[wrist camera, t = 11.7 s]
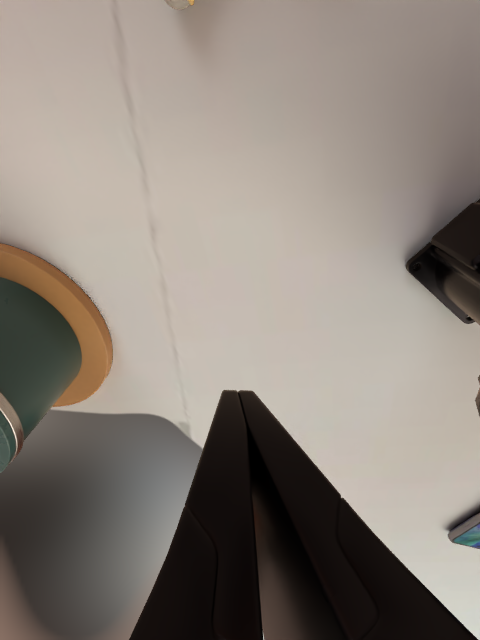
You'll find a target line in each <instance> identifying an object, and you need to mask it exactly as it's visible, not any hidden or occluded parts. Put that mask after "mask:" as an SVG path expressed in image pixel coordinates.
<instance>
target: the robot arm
mask: <svg viewBox="0 0 480 640" xmlns="http://www.w3.org/2000/svg"><path fill="white" fill-rule="evenodd" d="M416 263H419V266H418V267H417V268H415V269H413V266H414V265H415V264H416ZM406 269H407V271H408V272H409V273H411V274H412V275H413V276H414V277H415V278H416V279H417V280H418V281H419V282H420V283H421V284H422V285H424V286H425V287H426V288H427V289H428V290H429V291H430V292H431V293H432V294H433V295H434V296H435V297H437V298H438V299H439V300H440V301H441V302H442V303H443V304H444V305H445V306H446V307H447V308H449V309H450V310H451V311H452V312H453V313H454V314H455V315H456V316H457V317H458V318H459V319H460V320H462V321H463V322H464V323H466V324H470V323H473V322H477V323H478V324H479V325H480V199H479V200H478V201H477V202H476V203H472V204H470V205H469V206H468V207H467V208H466V209H465V210H463V211H462V212H461V213H460V214H459V215H458V216H457V217H455V218H454V219H453V220H452V221H451V222H450V223H449V224H447V225H446V226H445V227H444V228H443V229H442V230H440V231H439V232H438V233H437V234H436V235H435V236H434V237H433V238H432V241H431V242H429V243H428V244H427V245H426V246H425V247H424V248H422V249H421V250H420V251H419V252H418V253H417V254H416V255H414V256H413V257H412V258H411V259H410V260H409V261H408V262H407V264H406ZM467 316H469V317H467ZM478 380H479V383H480V375H479V377H478ZM475 401H476V405H477V409H478V412H479V416H480V388H479V391H478V394H477V397H476V400H475ZM262 628H263V629H262ZM263 634H264V640H478V639H477V638H476V637H475V636H474V635H473V634H472V633H471V632H470V631H469V630H468V629H467V628H466V627H465V626H464V625H463V624H462V623H461V622H460V621H459V620H458V619H457V618H456V617H455V616H454V615H453V614H452V613H451V612H450V611H449V610H448V609H447V608H446V607H445V606H444V605H443V604H442V603H441V602H440V601H439V600H438V599H437V598H436V597H435V596H434V595H433V594H432V593H431V592H430V591H429V590H428V589H427V588H426V587H425V586H424V585H423V584H422V583H421V582H420V581H419V580H418V579H417V578H416V577H415V576H414V575H413V574H412V573H411V572H410V571H409V570H408V568H407V567H406V566H405V565H404V564H403V563H402V562H401V561H400V560H399V559H398V558H397V557H396V556H395V555H394V554H393V553H392V552H391V551H390V550H389V549H388V548H387V547H386V546H385V545H384V543H383V542H382V541H381V540H380V539H379V538H378V537H377V536H376V535H375V534H374V533H373V532H372V530H371V529H370V528H369V527H368V526H367V525H366V524H365V522H364V521H363V520H362V519H361V518H360V517H359V516H358V515H357V513H356V512H355V511H354V510H353V509H352V507H351V506H350V505H349V504H348V503H347V502H346V500H345V499H344V498H341V495H340V493H339V492H338V491H337V490H336V489H335V488H334V486H333V485H332V484H331V483H330V482H329V480H328V479H327V478H326V477H325V476H324V475H323V473H322V472H321V471H320V470H319V469H318V467H317V466H316V465H315V464H314V463H313V462H312V460H311V459H310V458H309V457H308V456H307V454H306V453H305V452H304V451H303V450H302V448H301V447H300V446H299V445H298V444H297V443H296V441H295V440H294V439H293V438H292V437H291V435H290V434H289V433H288V432H287V431H286V430H285V428H284V427H283V426H282V425H281V424H280V422H279V421H278V420H277V419H276V418H275V417H274V415H273V414H272V413H271V412H270V411H269V409H268V408H267V407H266V406H265V405H264V403H263V402H262V401H261V400H260V399H259V398H258V396H257V395H256V394H255V393H254V392H253V391H246V390H240V391H238V392H237V391H236V390H223V391H222V394H221V397H220V400H219V403H218V406H217V409H216V412H215V415H214V418H213V421H212V424H211V427H210V430H209V433H208V436H207V439H206V442H205V445H204V448H203V452H202V455H201V457H200V460H199V463H198V467H197V470H196V473H195V476H194V479H193V482H192V485H191V488H190V491H189V494H188V497H187V500H186V503H185V507H184V509H183V512H182V515H181V517H180V520H179V523H178V527H177V529H176V532H175V535H174V537H173V540H172V543H171V546H170V549H169V551H168V554H167V556H166V559H165V561H164V564H163V566H162V568H161V570H160V573H159V575H158V577H157V580H156V582H155V584H154V587H153V589H152V591H151V593H150V596H149V598H148V600H147V602H146V604H145V606H144V609H143V611H142V613H141V615H140V617H139V619H138V622H137V624H136V626H135V628H134V630H133V632H132V635H131V637H130V639H129V640H263Z"/></svg>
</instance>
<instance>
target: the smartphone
mask: <svg viewBox="0 0 480 640" xmlns="http://www.w3.org/2000/svg"><path fill="white" fill-rule="evenodd" d="M448 537H449V539H450V541H451V542H453V543H456V544H460V545H465V546H469V547H473V548H478V549H480V513H479V514H477V515H474V516H472V517H471V518H469V519H468V520H466V521H465V522H463V523H462V524H460V525H459V526H457V527H456V528H454V529H453V530H451V531H450V532H449V534H448Z"/></svg>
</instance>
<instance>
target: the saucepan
mask: <svg viewBox="0 0 480 640" xmlns="http://www.w3.org/2000/svg"><path fill="white" fill-rule="evenodd" d="M112 358H113V349H112V342H111V338H110V334H109V331H108V328H107V326H106V324H105V322H104V319H103V318H102V316H101V314H100V313H99V311H98V309H97V308H96V306H95V305H94V304H93V302H92V301H91V300H90V298H89V297H88V296H87V295H86V294H85V293H84V292H83V291H82V290H81V288H80V287H79V286H77V285H76V284H75V283H74V282H73V281H72V280H71V279H70V278H69V277H67V276H66V275H65V274H63V273H62V272H61V271H59V270H58V269H57V268H55V267H54V266H52V265H51V264H49V263H47V262H46V261H44V260H42V259H41V258H39V257H36V256H34V255H32V254H30V253H28V252H26V251H23V250H21V249H18V248H15V247H13V246H9V245H5V244H1V243H0V473H1V472H2V471H3V470H4V469H5V468H6V467H7V466H8V465H9V464H10V463H11V462H12V461H13V460H14V459H15V457H16V456H17V455H18V454H19V452H20V450H21V448H22V446H23V441H24V440H25V439H26V438H27V436H28V435H29V434H30V433H31V431H32V430H33V429H34V428H35V427H36V425H37V424H38V423H39V422H40V420H41V419H42V418H43V417H44V416H45V415H46V413H47V412H48V411H49V410H50V408H51V407H57V406H66V405H71V404H75V403H78V402H80V401H83V400H85V399H87V398H88V397H90V396H91V395H92V394H94V393H95V392H96V391H97V390H98V389H99V387H100V386H101V384H102V383H103V381H104V380H105V378H106V377H107V375H108V373H109V371H110V368H111V364H112Z"/></svg>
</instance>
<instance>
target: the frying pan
mask: <svg viewBox="0 0 480 640" xmlns="http://www.w3.org/2000/svg"><path fill="white" fill-rule="evenodd" d="M165 1H166V2H167V4H168V5H169V6H171V7H172V8H174V9H178V10H181V9H185V8H187V7H188V6H189V5H193V4H194V0H165Z"/></svg>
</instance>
